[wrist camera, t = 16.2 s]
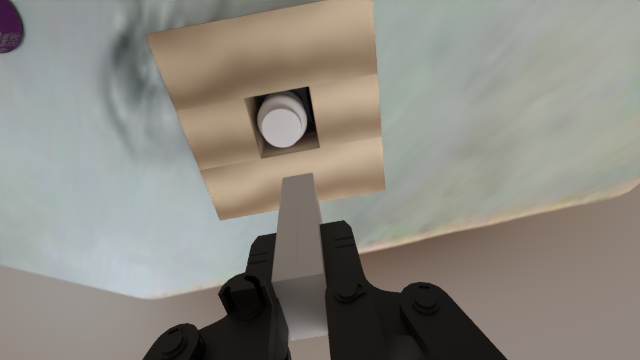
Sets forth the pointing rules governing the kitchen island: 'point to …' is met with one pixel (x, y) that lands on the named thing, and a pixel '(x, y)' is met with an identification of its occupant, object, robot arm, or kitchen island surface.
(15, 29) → the beverage can
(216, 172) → the socket block
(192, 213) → the kitchen island surface
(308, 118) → the thin gray tile
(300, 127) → the pill bottle
